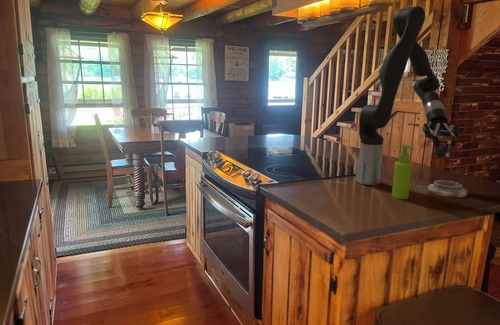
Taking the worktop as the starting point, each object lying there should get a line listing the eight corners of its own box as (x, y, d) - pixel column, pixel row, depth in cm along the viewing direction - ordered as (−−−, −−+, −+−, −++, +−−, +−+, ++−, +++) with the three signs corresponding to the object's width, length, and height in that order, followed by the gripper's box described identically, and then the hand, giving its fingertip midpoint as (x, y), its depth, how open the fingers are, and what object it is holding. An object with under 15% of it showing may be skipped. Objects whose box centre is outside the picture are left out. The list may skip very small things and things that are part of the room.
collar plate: (442, 198, 140) (443, 189, 139) (420, 187, 153) (421, 179, 153) (475, 196, 142) (476, 187, 141) (451, 186, 155) (452, 178, 155)
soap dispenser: (400, 200, 137) (405, 147, 132) (388, 195, 143) (393, 143, 139) (413, 199, 138) (419, 146, 134) (401, 193, 145) (406, 143, 140)
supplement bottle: (451, 159, 148) (455, 131, 146) (436, 159, 149) (439, 131, 147) (447, 157, 154) (450, 130, 152) (431, 156, 155) (435, 129, 153)
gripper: (421, 107, 155) (431, 139, 146) (456, 108, 155) (468, 140, 146) (415, 118, 161) (424, 150, 152) (448, 119, 161) (459, 151, 152)
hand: (445, 145), depth 149 cm, fingers closed on supplement bottle, 6 cm apart
